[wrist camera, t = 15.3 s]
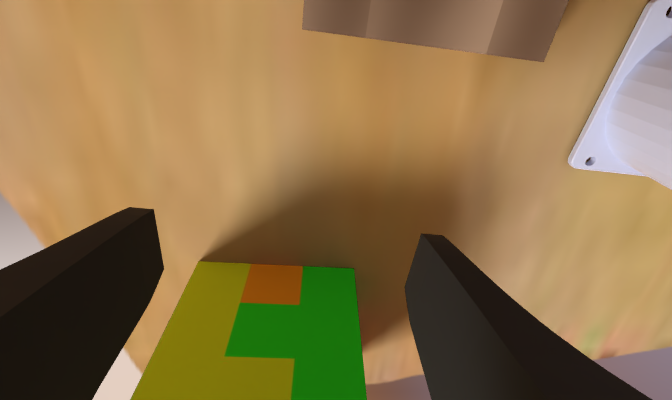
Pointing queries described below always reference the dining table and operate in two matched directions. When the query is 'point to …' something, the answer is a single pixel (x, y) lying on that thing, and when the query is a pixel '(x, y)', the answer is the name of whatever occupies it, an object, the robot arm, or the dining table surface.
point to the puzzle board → (445, 23)
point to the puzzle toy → (260, 337)
